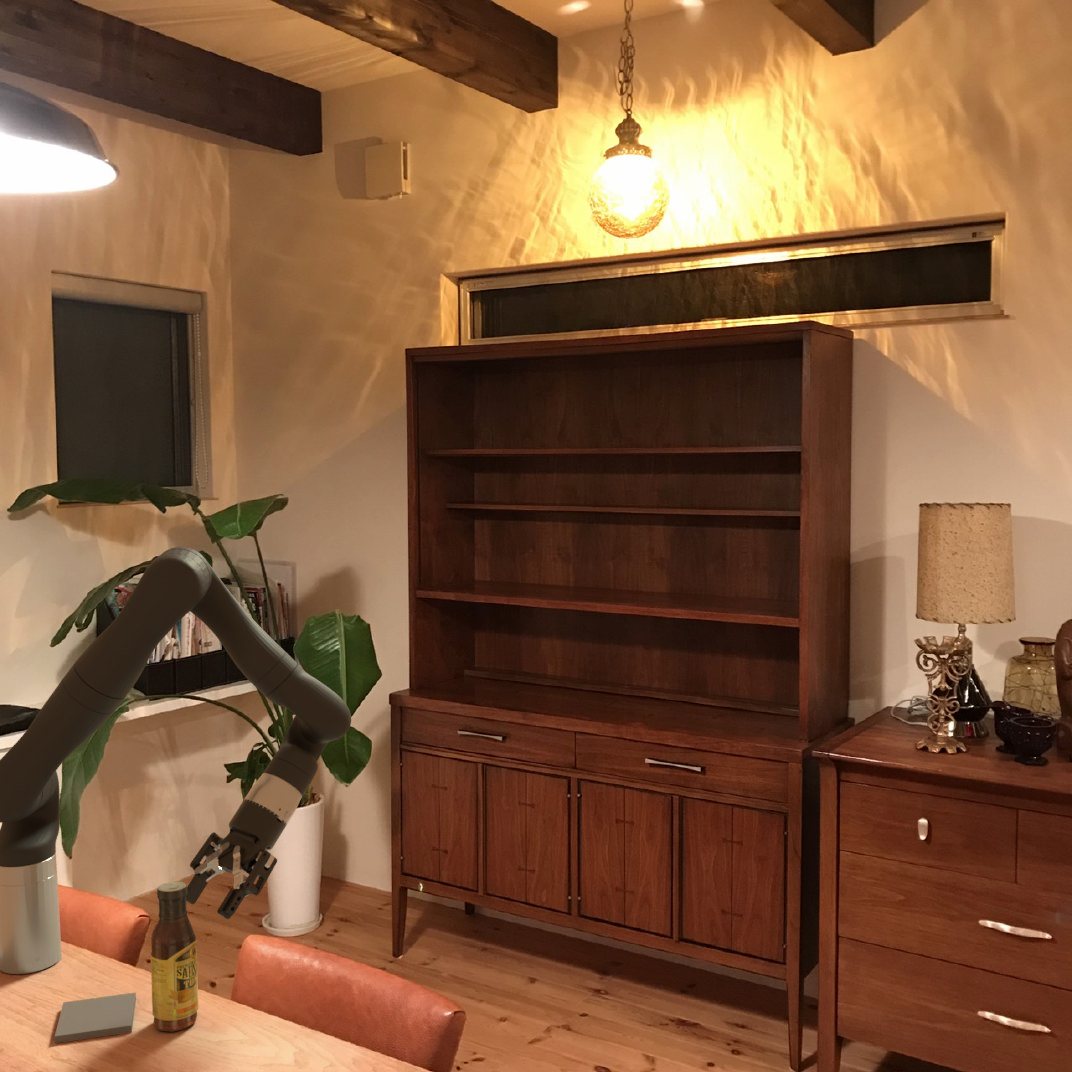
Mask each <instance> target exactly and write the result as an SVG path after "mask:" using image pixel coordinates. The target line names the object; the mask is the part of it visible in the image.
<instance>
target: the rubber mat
mask: <svg viewBox="0 0 1072 1072" xmlns="http://www.w3.org/2000/svg"><path fill="white" fill-rule="evenodd" d="M136 993H137V992H130V993H122V994H115V995H108V996H101V997H94V998H93V997H92V998H85V999H79V1000H70V1001H64V1002H62V1007H61V1010H60V1015H59V1018H58V1022H57V1024H56V1025H57V1027H56V1030H55V1033H54V1044H59V1043H66V1042H72V1041H73V1042H74V1041H80V1040H81V1041H82V1040H86V1039H87V1040H89V1039H94V1038H95V1039H96V1038H101V1037H108V1036H114V1035H121V1034H129V1033H133V1024H134V1017H135V1009H136V1003H137V994H136Z"/></svg>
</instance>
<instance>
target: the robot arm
mask: <svg viewBox="0 0 1072 1072" xmlns="http://www.w3.org/2000/svg"><path fill="white" fill-rule="evenodd" d="M189 612H190V613H192V614H193V615H194V616H195V617H197V618H198V619H199V620H200V621H201V622H202V623H203V624H204V625H206V627H207V628H208V629H209V630H210V631H211V632H212V633H213V634H214V635H215V637H216V638H217V639H218V641H219V642H220V644H221V645H222V646H223V648H224V649H225V651H226V653H227V654H228V655H229V657H230V658H231V660H232V661H233V663H234V664H235V666H236V667H237V669H239V671H240V672H241V673H242V675H243V676H245V678H246V679H247V680H248V681H249V682H250V684H253V686H255V688H256V689H258V690H259V692H260V693H261V694H262V695H263V696H264V697H266V699H267V700H269V702H271V703H273V704H275V705H276V706H279V707H284V708H285V709H287V710H289V711H290V712H292V713H291V714H294V717H293V719H292V720H291V722H290V724H289V727H288V728H287V730H286V733H285V735H284V737H283V739H282V741H281V745H280V747H279V749H278V750H277V751H276V752H275V754H274V756H273V757H272V759H271V760H270V762H269V763H268V765H267V766H266V768H265V769H264V771H263V773H262V774H261V776H259V778H258V779H257V780H256V781H255V783H254V784H253V786H252V787H251V788H250V789H249V791H248V793H247V794H246V796H245V797H244V798H243V800H242V802H241V803H240V805H239V807H238V809H236V812H235V813H234V815H233V816H232V818H231V819H230V821H229V823H228V828H229V833H228V834H227V835H226V836H225V837H224V838H223V837H221V836H220V835H219V834H218V833H217V832H216V831H215V832H212V833H211V834H210V835H209V836H208V837H207V839H205V842H204V844H202V846H201V848H200V849H199V850H198V852H197V853H196V854H195V856H194V857H193V859H192V860H191V862H190V864H189V867H190V868H192V870H193V871H194V875H193V877H192V879H191V880H190V881H189V883H188V885H187V896H186V903H188V904H190V905H194V904H196V902H197V900H198V899H199V898H200V897H201V895H202V893H203V892H204V890H205V888H206V887H207V886H208V884H209V882H208V881H210V880H211V879H213V878H214V877H216V876H217V875H222V874H224V873H228V874H232V875H233V876H234V877H233V886H232V887H233V888H230V890H229V892H228V893H227V894H226V895H225V898H224V899H223V901H222V902H221V904H220V905H219V907H218V909H217V914H218V915H219V916H221V917H222V918H224V919H226V920H230V918H231V917H232V916H233V915H234V914H235V913H236V912H237V909H238V908H239V907H240V905H241V903H242V902H243V900H244V899H245V897H246V898H247V897H248V896H249V895H253V896H254V897H257V896H259V895H260V893H261V891H262V889H264V886H265V884H266V882H267V881H268V879H269V877H270V876H271V874H272V872H273V871H274V868H275V866H276V864H277V863H278V858H276V856H274V855H273V854H272V853H271V852H269V851H271V850H273V848H274V847H275V845H276V843H277V842H278V840H279V838H280V837H281V835H282V833H283V832H284V831H285V829H286V827H287V825H288V824H289V822H290V820H291V818H292V817H293V815H294V814H295V812H296V811H297V808H298V806H299V804H300V802H301V799H302V798H303V796H304V795H305V793H306V792H307V789H308V788H309V786H310V784H311V783H312V781H313V780H314V778H315V776H316V775H317V772H318V767H319V765H318V764H319V763H318V761H319V759H320V757H321V755H322V753H323V752H324V750H325V748H327V745H328V744H329V743H330V742H334V741H337V740H339V739H342V738H343V737H344V736H345V735H346V734H347V733H348V731H349V730H350V728H351V724H352V715H351V710H350V708H349V707H348V704H347V703H346V702H345V701H344V700H343V699H342V698H341V696H340V695H339V694H337V693H336V692H335V691H334V690H332V688H330V687H329V686H327V685H326V684H324V683H323V682H321V681H319V680H318V679H317V678H316V677H313V676H312V675H311V674H309V673H308V672H306V671H305V670H304V669H303V668H302V667H301V665H299V663H298V662H297V661H296V660H295V659H294V658H293V657H292V656H291V655H289V653H288V652H287V651H285V650H284V649H283V648H282V646H280V645H279V644H278V643H277V642H276V641H275V640H274V639H273V638H272V637H271V636H270V635H269V633H267V632H266V631H265V630H264V629H263V628H262V627H261V626H260V625H259V624H258V623H257V622H256V621H255V619H253V617H252V616H251V615H250V614H249V613H248V612H247V611H246V609H245V608H244V607H243V606H242V604H241V603H240V602H239V601H238V600H237V599H236V598H235V596H234V595H233V593H231V591H230V590H229V589H228V588H227V586H226V585H225V583H224V582H223V581H222V579H221V578H220V576H219V575H218V574H217V572H216V571H215V570H214V568H213V567H212V566H211V564H210V563H209V561H208V560H207V559H206V558H205V556H204V555H202V554H201V553H200V552H199V551H197V550H196V549H193V548H191V547H187V546H176V547H171V548H169V549H166V550H165V551H163V552H162V553H161V554H159V555H158V556H157V557H156V558H155V559H154V560H152V561H151V562H150V563H149V564H148V566H147V567H146V569H145V570H144V572H143V574H142V575H141V577H140V579H139V581H138V583H137V584H136V585H135V588H134V589H133V590H132V593H131V595H130V596H129V598H128V599H127V601H126V602H125V604H124V605H123V608H122V609H121V610H120V612H119V613H118V614H117V616H116V617H115V619H114V620H113V621H112V622H111V623H110V625H108V626H107V627H106V629H104V631H102V632H101V633H100V634H99V635H98V636H97V637H96V638H95V639H94V640H93V641H92V642H91V644H90V645H88V646H87V648H86V649H85V650H84V651H83V652H82V654H80V656H79V657H78V658H77V660H76V661H75V662H74V663H73V664H72V666H71V667H70V668H69V670H68V671H67V673H66V674H65V675H64V676H63V678H62V679H61V681H60V682H59V683H58V685H57V686H56V688H55V689H54V690H53V692H52V694H51V695H50V696H49V697H48V699H46V701H45V703H44V704H43V706H42V707H41V708H40V710H39V712H38V713H37V714H36V716H35V717H34V719H32V722H31V723H30V725H29V726H28V728H27V729H26V731H25V732H24V733H23V734H22V736H21V737H20V738H19V739H18V740H17V741H16V742H15V744H13V746H11V748H9V750H8V751H7V752H6V753H5V754H4V755H3V756H2V757H1V758H0V823H1V826H0V971H1V972H3V973H5V974H12V975H22V974H23V975H24V974H31V973H35V972H39V971H43V970H44V969H47V968H49V967H52V966H53V965H55V964H56V963H58V962H59V961H60V960H61V958H62V942H61V940H62V939H61V922H60V921H61V920H60V902H59V901H60V899H59V884H58V883H59V881H58V870H57V869H58V866H57V850H56V849H57V847H56V845H57V839H58V836H59V833H60V827H61V826H60V825H61V814H60V813H61V811H60V810H61V809H60V808H61V807H60V804H61V803H60V802H61V800H60V781H59V776H58V773H57V771H58V769H59V768H60V766H61V765H62V764H63V762H64V761H65V760H66V759H67V758H68V757H69V756H70V755H71V754H72V753H74V752H75V750H77V749H78V748H80V747H81V746H82V744H84V743H85V742H86V741H87V740H88V739H89V738H90V737H91V736H92V735H94V734H95V733H96V731H98V730H99V729H100V728H101V727H102V726H103V725H104V723H106V722H107V720H109V718H110V717H111V716H112V715H113V714H114V712H115V711H116V710H117V709H118V708H119V706H120V705H121V703H122V702H123V701H124V700H125V699H126V697H127V696H128V695H129V693H130V692H131V691H132V689H133V688H134V686H135V684H136V683H137V682H138V680H139V678H140V677H141V675H142V673H143V672H144V669H145V667H146V666H147V663H148V661H149V660H150V658H151V655H152V653H154V651H155V649H156V647H157V646H159V644H160V643H161V641H163V639H164V638H165V637H166V636H167V635H168V634H169V632H171V630H173V629H174V628H175V626H176V625H177V624H178V623H179V622H180V621H181V620H182V619H183V618H184V617H185V616H186V615H187V614H188V613H189ZM204 857H205V860H204V861H203V862H202V860H203V859H204ZM201 862H202V863H201ZM209 869H210V870H209ZM256 879H257V881H256ZM255 881H256V883H255Z"/></svg>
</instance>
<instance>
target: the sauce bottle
mask: <svg viewBox="0 0 1072 1072" xmlns="http://www.w3.org/2000/svg"><path fill="white" fill-rule="evenodd" d="M187 887H188V885H187V883H185V882H182V881H169V882H166V883H162V884H160V885H159V886H158V887H157V888H156V890H157V892H156V895H157V899H158V921H157V923H156V925H155V926H154V929H153V930H152V933H151V937H150V938H151V939H150V945H151V953H150V966H151V968H150V969H151V971H150V972H151V973H150V974H151V975H150V976H151V1002H152V1003H151V1006H152V1008H151V1009H152V1010H151V1011H152V1016H153V1023H154V1027H155V1028H156V1030H159V1031H163V1032H172V1033H173V1032H176V1031H181V1030H184V1029H186V1028H189V1027H191V1026H192V1025H194V1024H195V1023H196V1021H197V1018H198V1011H199V987H198V986H199V983H198V975H199V974H198V942H197V937H196V934H195V931H194V928H193V926H192V924H191V921H190V918H189V917H188V909H187V901H186V896H187Z"/></svg>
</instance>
